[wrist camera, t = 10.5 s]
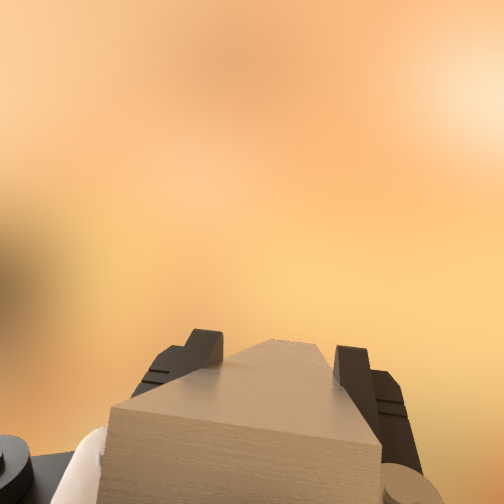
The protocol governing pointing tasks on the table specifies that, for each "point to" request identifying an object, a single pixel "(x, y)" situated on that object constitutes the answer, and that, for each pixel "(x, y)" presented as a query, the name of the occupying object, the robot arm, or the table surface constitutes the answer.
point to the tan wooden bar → (243, 436)
